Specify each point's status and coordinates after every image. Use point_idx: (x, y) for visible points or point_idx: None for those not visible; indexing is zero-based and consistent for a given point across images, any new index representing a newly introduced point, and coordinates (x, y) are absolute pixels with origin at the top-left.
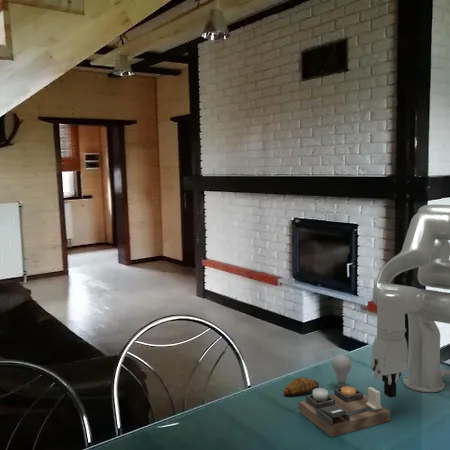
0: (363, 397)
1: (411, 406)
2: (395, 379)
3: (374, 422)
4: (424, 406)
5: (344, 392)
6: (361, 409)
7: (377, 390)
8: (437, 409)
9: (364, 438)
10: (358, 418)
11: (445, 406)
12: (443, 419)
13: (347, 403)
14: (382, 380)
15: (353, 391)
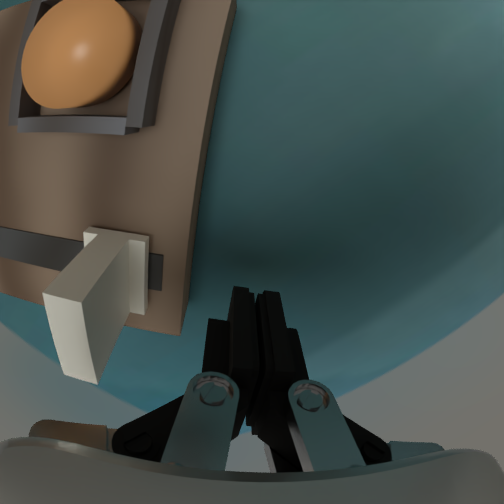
0: (167, 119)
1: (393, 268)
2: (268, 464)
3: None
4: (423, 296)
5: (24, 76)
6: (48, 242)
7: (90, 365)
8: (424, 332)
9: (27, 315)
10: (8, 289)
11: (456, 329)
12: (364, 380)
13: (29, 139)
14: (189, 384)
15: (67, 99)
